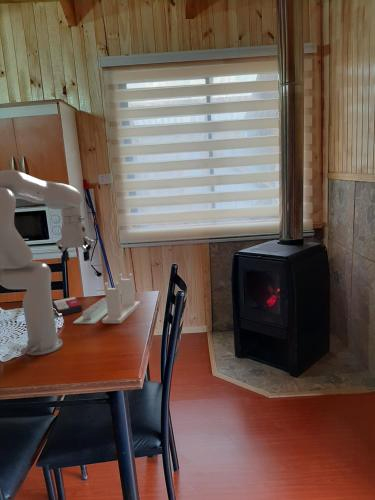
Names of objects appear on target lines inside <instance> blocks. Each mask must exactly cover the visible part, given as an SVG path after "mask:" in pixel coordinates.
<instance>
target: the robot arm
mask: <svg viewBox="0 0 375 500" xmlns="http://www.w3.org/2000/svg"><path fill="white" fill-rule="evenodd" d="M16 198H18V199H20V200H23V201H27V202H31V203H34V204H35V203H36V204H44V205H45V206H46V207H47V208H48V209H52V210H61V214H62V215H61V216H62V217H61V218H62V225H61V230H60V231H61V232H60V233H61V238H59V239H58V240H57V241H56V242H55V245H56V246H57V248H58V250H60V253H62V259H63V262H64V263H65V262H69V261H70V254H69V251H68V249H70V248H71V249H73V248H81V249H82V250H83V253H82V254H83V262H88V261H90V251H91V249H92V247H93V245H94V242H95V240H94V239H92V238H89V237H88V233H87V228H86V225H85V223H83V221H85V217H83V216H82V212H81V211H82V210H81V203H82V194H81V193H80V191H79V190H78V189H77V188H76V187H74V186H72V185H69V184H65V183H60V182H56V181H55V182H54V181H49V180H45V179H44V180H43V179H40V178H37V177H35V176H32V175H29V174H27V173H24V172H22V171H19V170H15V169H7V170H0V285H1V287H4V288H5V289H8V290H26V292H25V294H24V297H23V299H22V309H23V314H24V316H23V317H24V320H25V327H26V333H27V339H28V340H27V341H26V346H25V347H23V348H22V349H20V354H22V355H26V354H27V355H29V356H42V355H43V356H44V355H47V354H50V353H53V352H56V351H57V350H59V349H60V348H61V347H62V346H63V344H64V343H63V342H64V341H63V340H62V339H61V338H59V337H58V334H57V326H56V325H57V324H56V320H55V310H54V309H53V303H52V302H53V298H52V286H51V284H52V271H51V270H52V269H51V268H50V266H49V265H48V264H46V263H45V262H43V261H36V260H35V261H34V260H33V258H34V256H33V252H32V250H31V248H30V247H29V245H28V244H27V243H26V241H25V240H24V238H23V237H22V235H21V234H20V233H19V231H18V230H17V228H16V226H15V211H16V208H17V200H16Z"/></svg>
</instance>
